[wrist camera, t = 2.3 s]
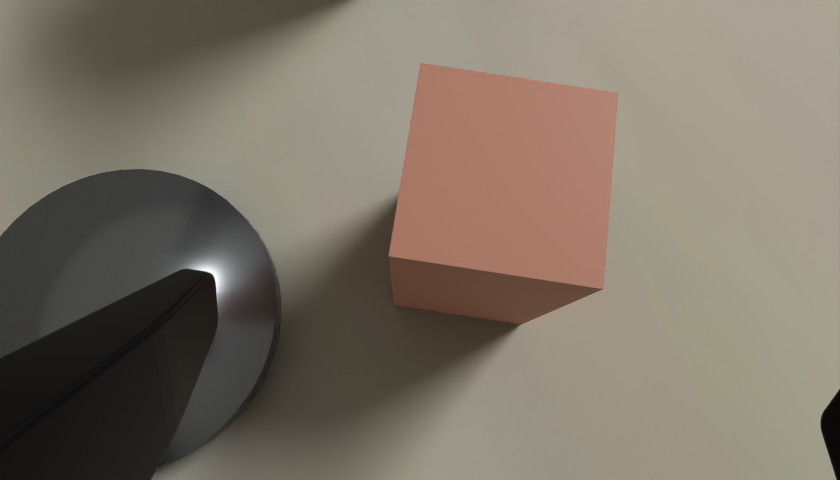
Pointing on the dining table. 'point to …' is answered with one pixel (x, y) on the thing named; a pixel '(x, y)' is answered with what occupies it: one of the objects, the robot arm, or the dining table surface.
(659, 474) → the dining table surface
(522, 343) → the dining table surface
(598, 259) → the upright salmon prism
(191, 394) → the robot arm
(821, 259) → the dining table surface
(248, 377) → the charcoal dinner plate
